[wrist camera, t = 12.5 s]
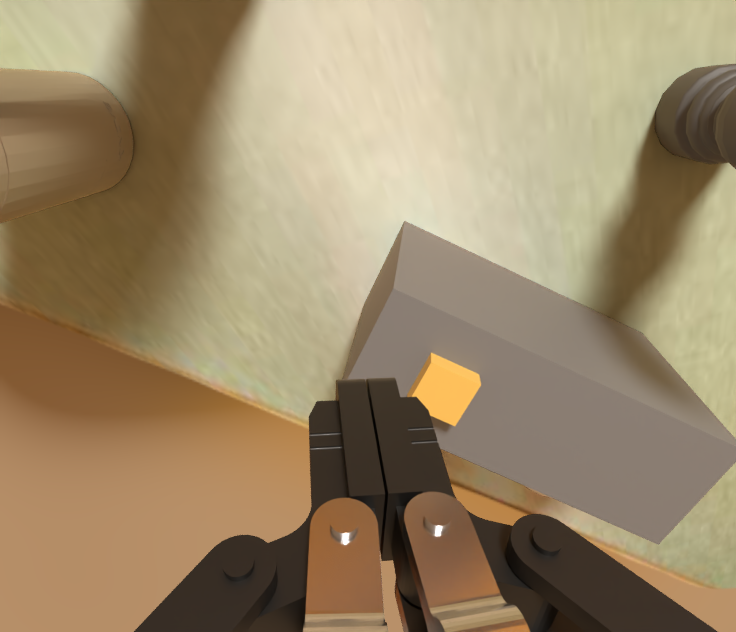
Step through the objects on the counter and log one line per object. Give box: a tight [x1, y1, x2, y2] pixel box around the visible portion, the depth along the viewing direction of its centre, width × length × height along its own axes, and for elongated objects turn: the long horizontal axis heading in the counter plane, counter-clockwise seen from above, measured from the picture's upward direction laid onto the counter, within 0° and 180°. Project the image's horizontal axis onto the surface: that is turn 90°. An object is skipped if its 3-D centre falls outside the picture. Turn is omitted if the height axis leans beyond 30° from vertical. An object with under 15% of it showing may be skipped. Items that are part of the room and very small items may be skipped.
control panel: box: [342, 221, 736, 545], centre depth 38 cm, size 8×22×17 cm, turn 66°
